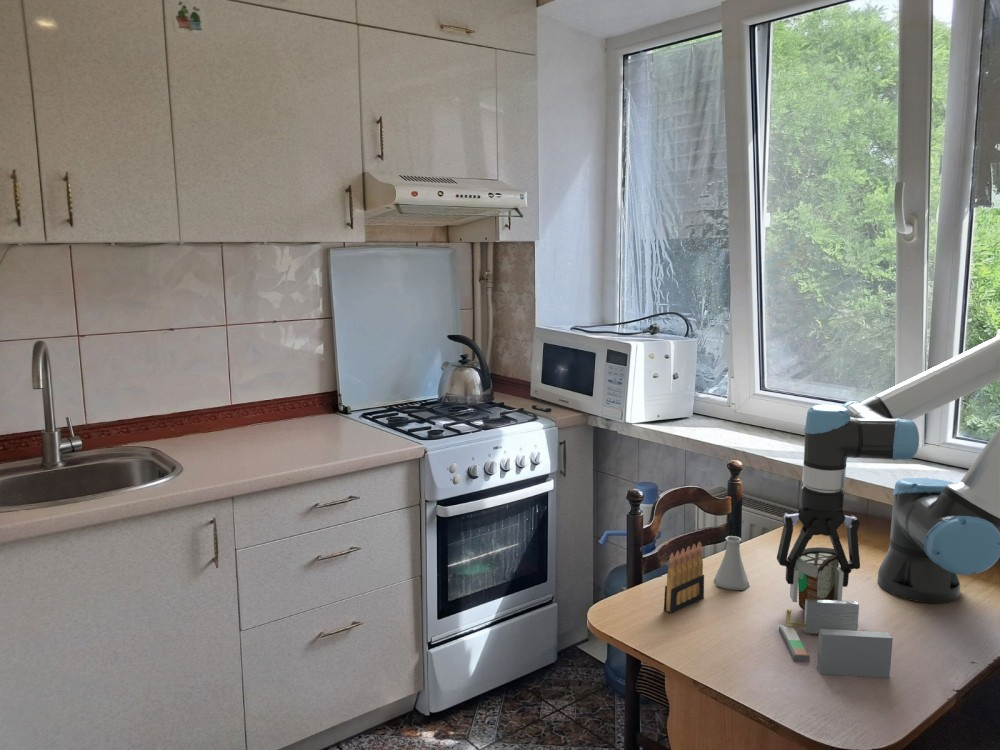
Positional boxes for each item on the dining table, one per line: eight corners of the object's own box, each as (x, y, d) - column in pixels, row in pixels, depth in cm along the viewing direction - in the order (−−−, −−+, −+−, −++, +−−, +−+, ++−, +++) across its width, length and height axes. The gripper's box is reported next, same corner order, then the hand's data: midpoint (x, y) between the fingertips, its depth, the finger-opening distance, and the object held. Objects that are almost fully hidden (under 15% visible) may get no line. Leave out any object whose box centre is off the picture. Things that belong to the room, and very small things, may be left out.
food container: (806, 588, 162) (809, 541, 161) (837, 597, 158) (841, 549, 157) (781, 608, 153) (784, 558, 152) (813, 618, 149) (816, 567, 148)
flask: (711, 588, 166) (713, 542, 164) (716, 574, 173) (717, 530, 171) (747, 593, 163) (750, 547, 162) (750, 579, 170) (753, 535, 168)
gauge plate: (854, 632, 146) (857, 601, 145) (856, 635, 145) (859, 604, 144) (785, 628, 147) (786, 598, 146) (786, 631, 146) (788, 601, 145)
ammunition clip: (671, 614, 154) (673, 555, 152) (663, 611, 156) (665, 552, 154) (704, 598, 161) (706, 541, 159) (696, 595, 163) (698, 539, 161)
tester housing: (859, 634, 146) (862, 598, 145) (889, 677, 132) (892, 638, 130) (778, 630, 148) (780, 594, 147) (799, 672, 133) (802, 633, 132)
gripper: (872, 483, 154) (863, 594, 158) (763, 479, 156) (757, 589, 160) (886, 495, 147) (876, 611, 150) (771, 490, 149) (764, 606, 153)
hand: (815, 600), depth 155 cm, fingers closed on food container, 7 cm apart
